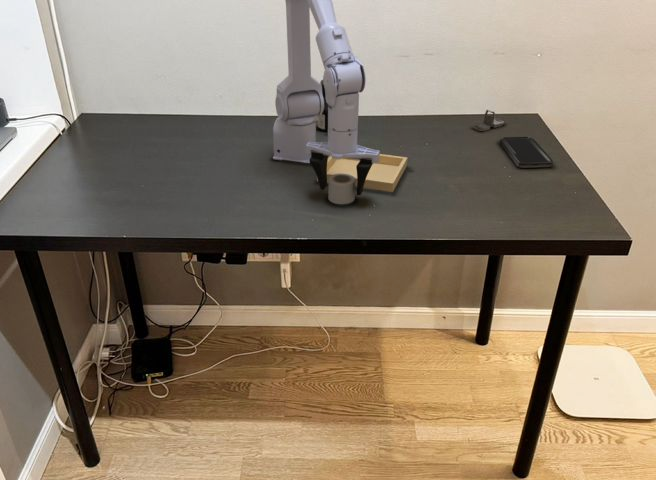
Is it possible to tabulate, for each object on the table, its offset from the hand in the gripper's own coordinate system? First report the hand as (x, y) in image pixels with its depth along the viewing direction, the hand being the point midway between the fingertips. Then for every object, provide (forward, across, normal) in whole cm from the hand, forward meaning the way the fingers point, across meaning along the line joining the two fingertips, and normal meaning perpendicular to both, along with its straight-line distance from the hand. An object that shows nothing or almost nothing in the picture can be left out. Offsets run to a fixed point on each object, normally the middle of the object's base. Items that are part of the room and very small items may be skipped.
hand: (341, 190), depth 131 cm
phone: (+2, +33, +35) cm, 48 cm away
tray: (+2, +1, +12) cm, 13 cm away
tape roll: (+2, 0, 0) cm, 2 cm away
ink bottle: (+2, -14, +37) cm, 39 cm away
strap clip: (+2, +24, +50) cm, 55 cm away
